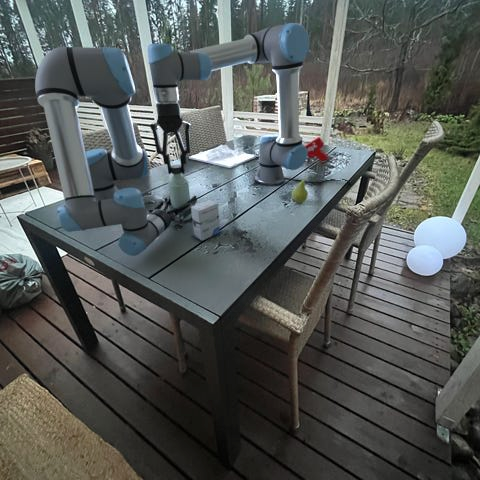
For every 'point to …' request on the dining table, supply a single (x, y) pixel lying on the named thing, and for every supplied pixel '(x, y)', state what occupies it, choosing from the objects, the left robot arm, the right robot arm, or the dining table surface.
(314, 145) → the toy gun
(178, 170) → the cap
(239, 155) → the relief map
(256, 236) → the dining table surface
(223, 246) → the dining table surface
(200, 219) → the ink box
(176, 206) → the bottle
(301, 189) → the fruit
